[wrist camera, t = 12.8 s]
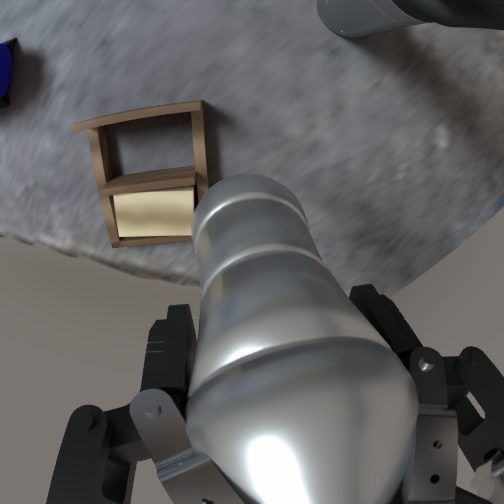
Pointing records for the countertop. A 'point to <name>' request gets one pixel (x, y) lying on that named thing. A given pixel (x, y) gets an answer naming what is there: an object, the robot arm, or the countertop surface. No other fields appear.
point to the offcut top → (155, 212)
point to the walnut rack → (144, 179)
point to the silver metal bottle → (289, 361)
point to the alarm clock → (5, 70)
